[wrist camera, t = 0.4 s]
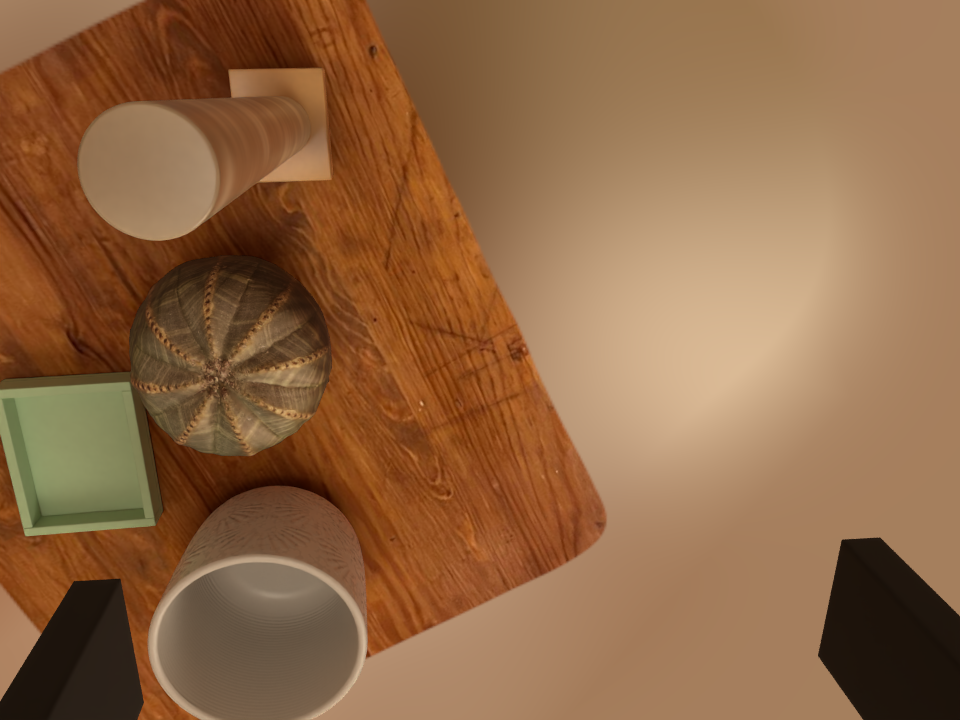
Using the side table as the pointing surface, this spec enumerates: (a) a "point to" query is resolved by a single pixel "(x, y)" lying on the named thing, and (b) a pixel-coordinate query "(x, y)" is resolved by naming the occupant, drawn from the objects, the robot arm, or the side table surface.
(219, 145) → the paper towel holder
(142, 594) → the side table surface
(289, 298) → the brown ribbed round dome
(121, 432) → the tray
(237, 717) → the planter
